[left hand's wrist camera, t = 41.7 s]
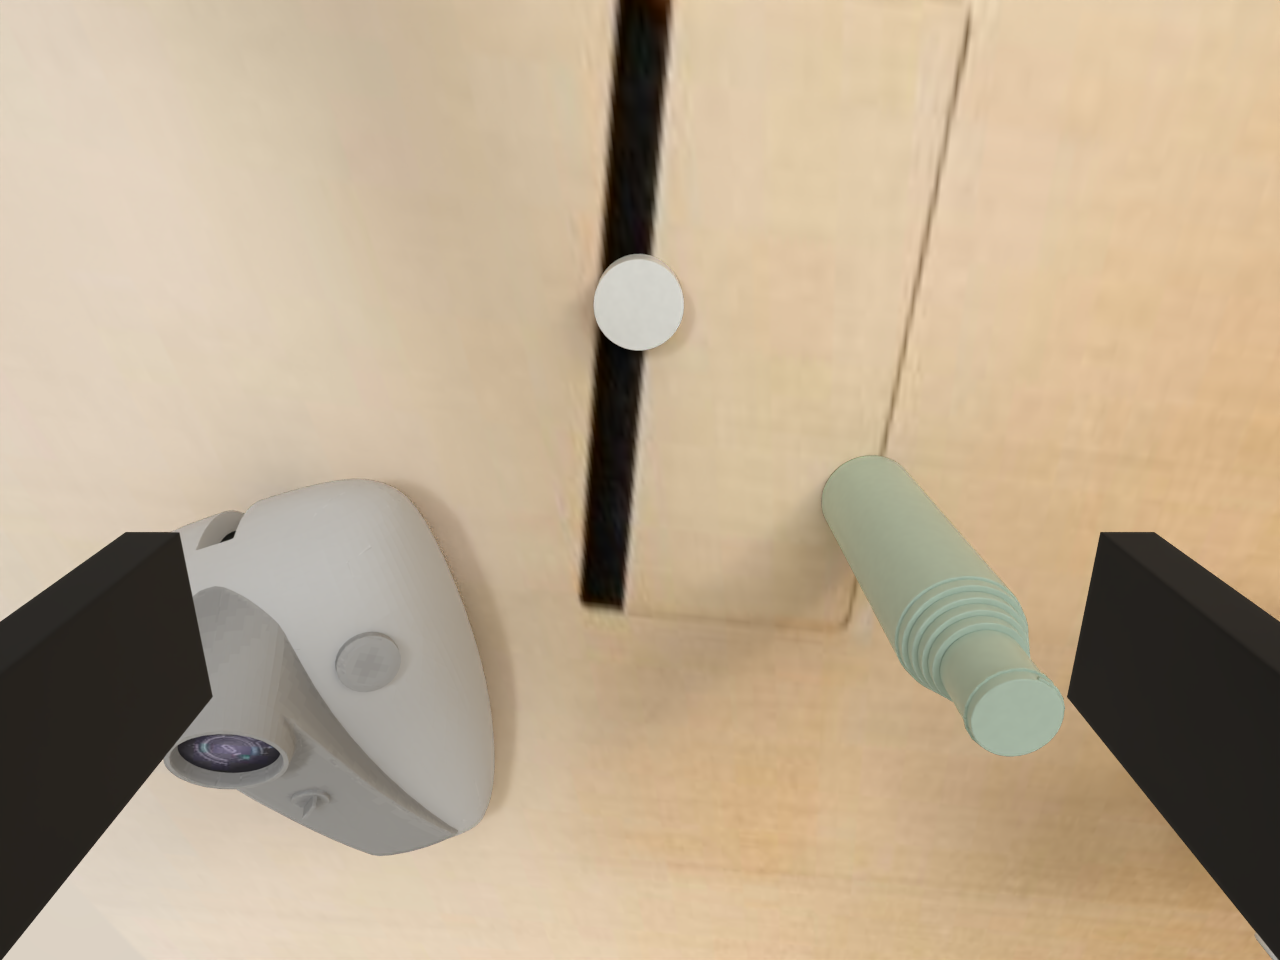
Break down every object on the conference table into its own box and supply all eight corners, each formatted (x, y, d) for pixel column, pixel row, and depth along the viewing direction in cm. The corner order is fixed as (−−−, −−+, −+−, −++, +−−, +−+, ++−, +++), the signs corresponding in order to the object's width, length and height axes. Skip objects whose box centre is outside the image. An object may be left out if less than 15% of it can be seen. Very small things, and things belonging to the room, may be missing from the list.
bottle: (881, 555, 48) (1033, 802, 29) (803, 516, 47) (910, 745, 28) (931, 480, 46) (1127, 691, 28) (853, 439, 45) (1000, 628, 27)
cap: (642, 235, 42) (642, 239, 39) (699, 301, 43) (702, 309, 40) (578, 294, 43) (574, 301, 40) (635, 357, 44) (634, 368, 41)
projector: (115, 725, 51) (-77, 930, 38) (209, 383, 44) (14, 482, 30) (464, 843, 54) (405, 1073, 41) (605, 542, 47) (591, 697, 33)
